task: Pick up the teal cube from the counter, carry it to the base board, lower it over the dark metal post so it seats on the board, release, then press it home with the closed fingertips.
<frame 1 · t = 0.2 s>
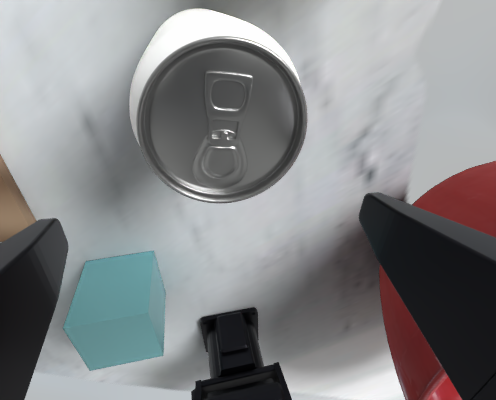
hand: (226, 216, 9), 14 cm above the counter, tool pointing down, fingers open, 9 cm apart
can: (201, 65, 20), on the counter
teal cube: (128, 278, 28), on the counter
mixing bowl: (445, 223, 34), on the counter
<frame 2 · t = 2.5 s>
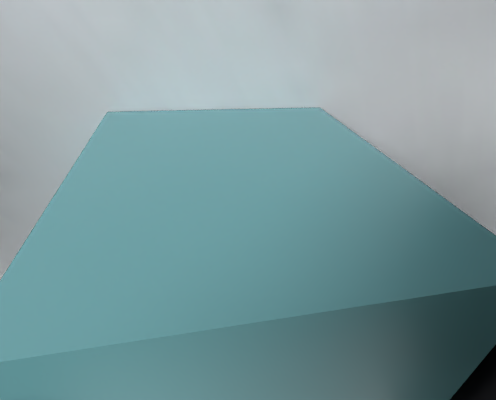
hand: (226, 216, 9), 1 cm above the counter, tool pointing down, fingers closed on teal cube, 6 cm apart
teal cube: (221, 198, 10), on the counter, touching gripper
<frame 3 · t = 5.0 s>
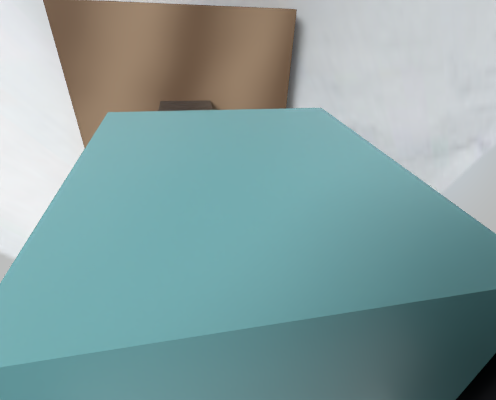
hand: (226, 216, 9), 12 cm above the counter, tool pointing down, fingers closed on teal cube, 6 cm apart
teal cube: (222, 199, 10), point 11 cm above the counter, touching gripper
post: (188, 140, 16), on the base board, point 4 cm above the counter
base board: (187, 119, 19), on the counter
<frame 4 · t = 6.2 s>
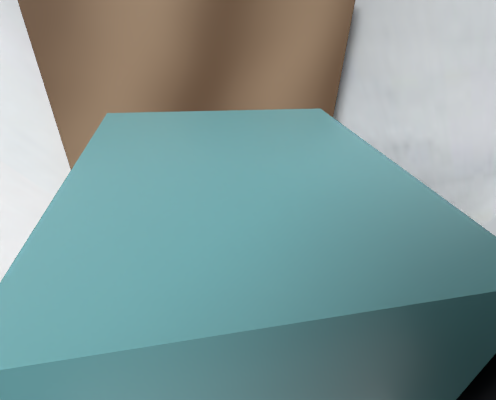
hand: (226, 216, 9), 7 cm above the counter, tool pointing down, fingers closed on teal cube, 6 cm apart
teal cube: (221, 200, 10), point 6 cm above the counter, touching gripper
base board: (205, 135, 15), on the counter
when the fingers open (3 cm above the counter, at t = 7.4 s): teal cube drops 2 cm, resting on base board.
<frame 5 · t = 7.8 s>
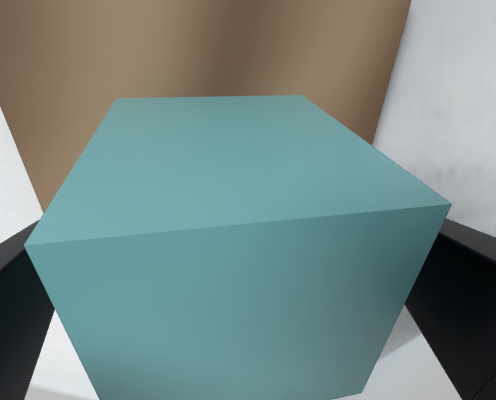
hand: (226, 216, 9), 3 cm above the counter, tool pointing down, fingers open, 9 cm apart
teal cube: (216, 177, 11), point 1 cm above the counter, touching base board
base board: (213, 165, 12), on the counter
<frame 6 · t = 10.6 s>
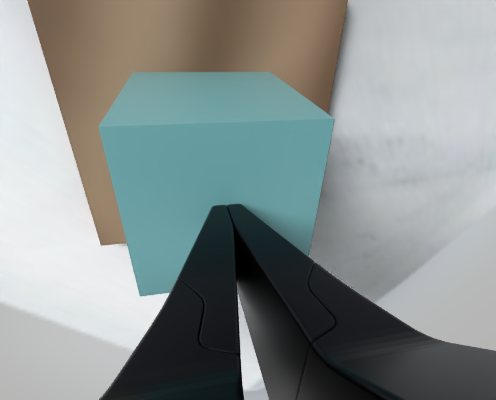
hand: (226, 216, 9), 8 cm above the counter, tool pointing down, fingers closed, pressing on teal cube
teal cube: (207, 137, 14), point 1 cm above the counter, touching base board, gripper
base board: (205, 129, 15), on the counter
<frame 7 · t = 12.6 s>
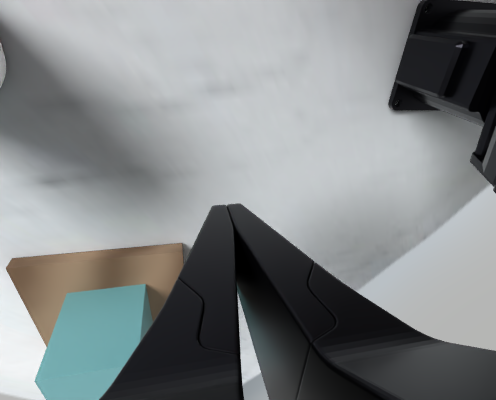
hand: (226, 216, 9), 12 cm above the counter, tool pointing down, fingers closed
teal cube: (114, 311, 25), point 1 cm above the counter, touching base board
base board: (115, 302, 26), on the counter
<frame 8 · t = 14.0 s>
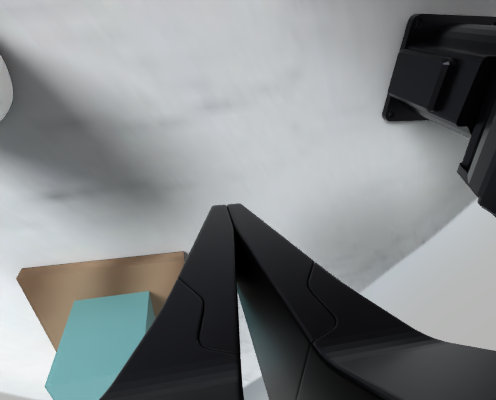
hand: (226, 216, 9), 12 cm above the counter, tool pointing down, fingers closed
teal cube: (119, 317, 26), point 1 cm above the counter, touching base board
base board: (121, 308, 27), on the counter
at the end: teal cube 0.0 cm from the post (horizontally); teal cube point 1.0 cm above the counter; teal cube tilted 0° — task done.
